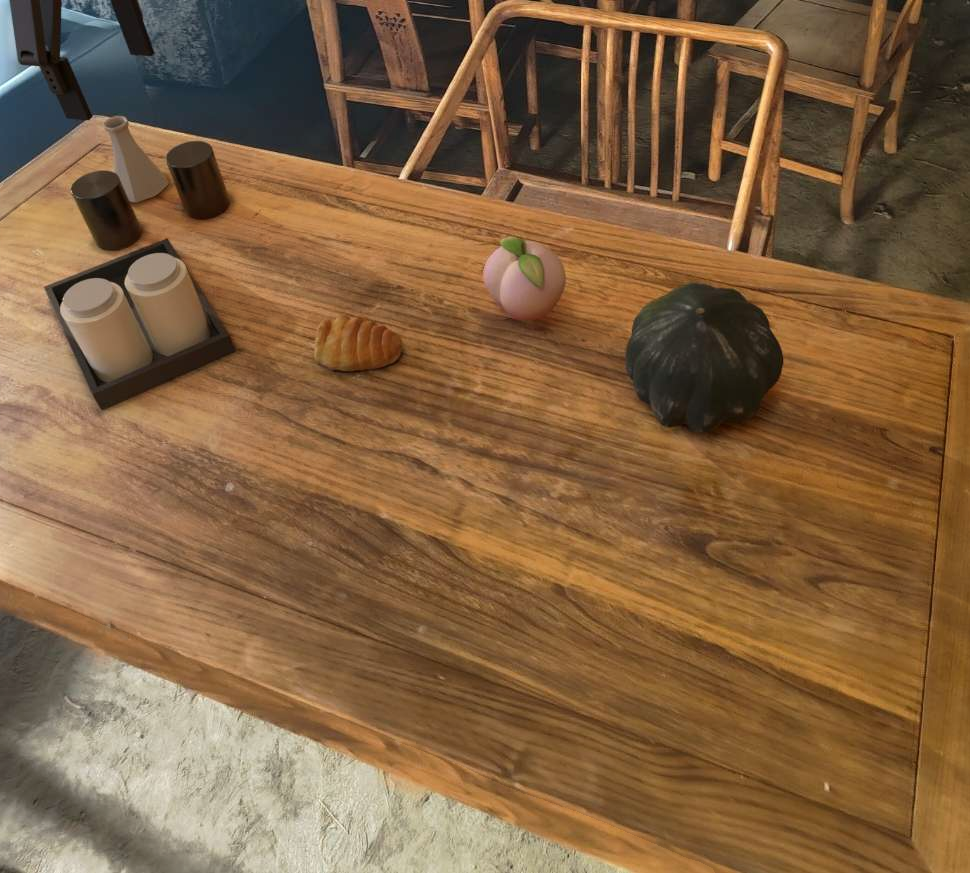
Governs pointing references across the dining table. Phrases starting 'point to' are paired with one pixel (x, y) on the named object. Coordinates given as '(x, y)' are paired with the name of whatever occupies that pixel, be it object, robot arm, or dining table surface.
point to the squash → (702, 357)
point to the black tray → (161, 365)
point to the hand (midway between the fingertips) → (112, 84)
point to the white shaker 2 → (167, 303)
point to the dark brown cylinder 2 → (198, 180)
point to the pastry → (355, 344)
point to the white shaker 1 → (105, 328)
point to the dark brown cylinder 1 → (106, 210)
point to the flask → (133, 163)
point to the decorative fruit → (524, 278)
